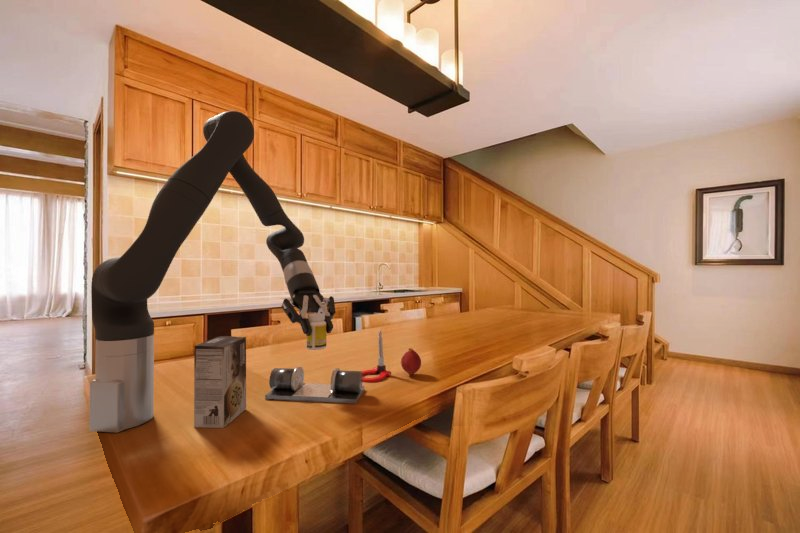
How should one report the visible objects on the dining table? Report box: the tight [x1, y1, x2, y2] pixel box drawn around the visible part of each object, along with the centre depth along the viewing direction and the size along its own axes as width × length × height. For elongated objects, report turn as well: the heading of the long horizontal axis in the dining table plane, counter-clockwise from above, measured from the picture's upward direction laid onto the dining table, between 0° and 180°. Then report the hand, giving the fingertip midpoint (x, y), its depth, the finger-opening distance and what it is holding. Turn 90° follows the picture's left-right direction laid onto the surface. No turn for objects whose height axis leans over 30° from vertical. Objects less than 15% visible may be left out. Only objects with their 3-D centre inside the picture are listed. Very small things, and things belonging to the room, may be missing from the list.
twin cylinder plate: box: [264, 366, 365, 405], centre depth 84 cm, size 22×9×6 cm, turn 84°
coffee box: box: [193, 335, 247, 429], centre depth 71 cm, size 9×6×16 cm
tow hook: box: [362, 330, 392, 383], centre depth 97 cm, size 8×13×9 cm
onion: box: [400, 347, 422, 376], centre depth 99 cm, size 6×6×8 cm
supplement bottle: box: [306, 312, 327, 351], centre depth 84 cm, size 5×5×8 cm
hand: (320, 332), depth 83 cm, fingers closed on supplement bottle, 4 cm apart
